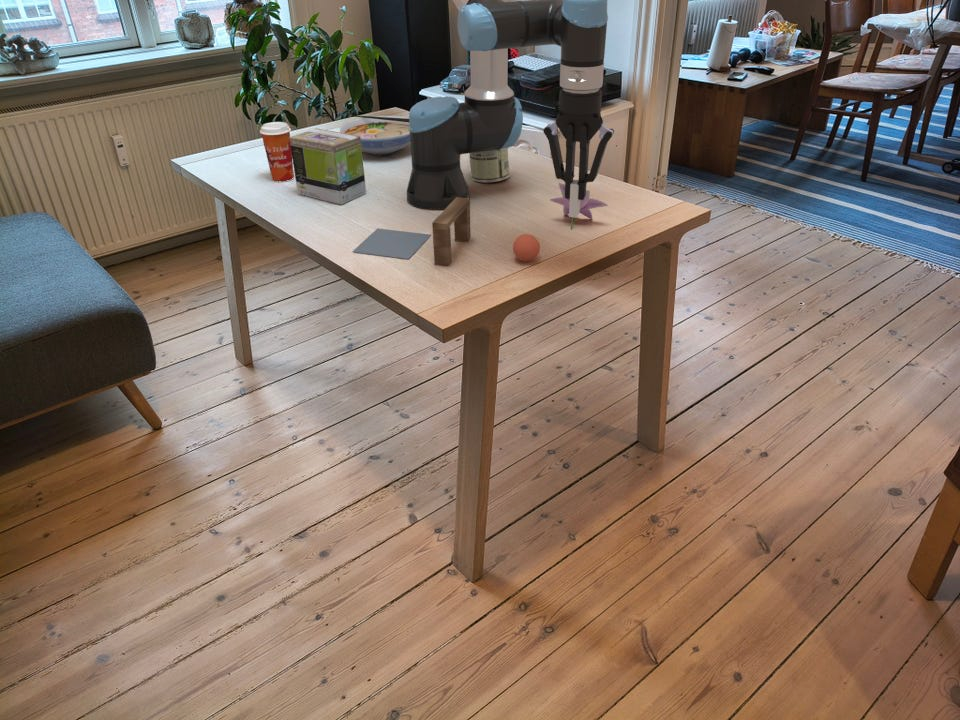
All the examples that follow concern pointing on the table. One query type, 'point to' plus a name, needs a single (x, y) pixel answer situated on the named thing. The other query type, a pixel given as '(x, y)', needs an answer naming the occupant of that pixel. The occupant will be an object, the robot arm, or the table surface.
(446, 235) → the bridge
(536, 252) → the ball
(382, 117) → the ramen bowl
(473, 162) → the coffee can
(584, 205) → the lily
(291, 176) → the paper cup
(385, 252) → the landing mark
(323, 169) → the tea box
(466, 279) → the table surface
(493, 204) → the table surface
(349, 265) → the table surface
